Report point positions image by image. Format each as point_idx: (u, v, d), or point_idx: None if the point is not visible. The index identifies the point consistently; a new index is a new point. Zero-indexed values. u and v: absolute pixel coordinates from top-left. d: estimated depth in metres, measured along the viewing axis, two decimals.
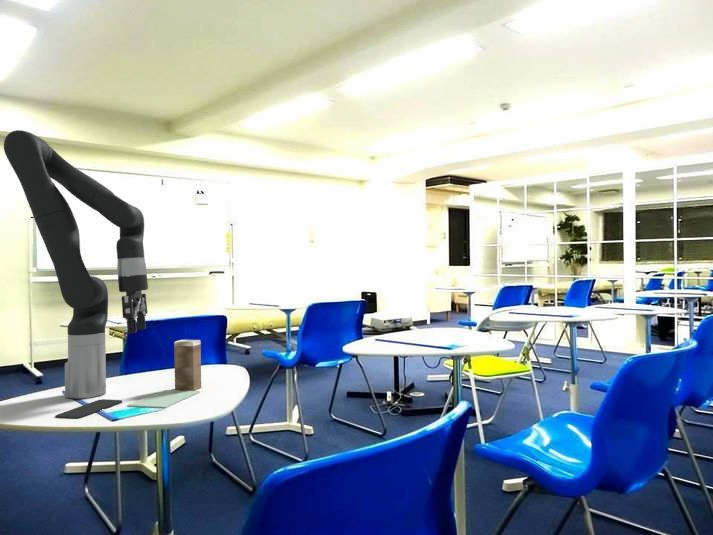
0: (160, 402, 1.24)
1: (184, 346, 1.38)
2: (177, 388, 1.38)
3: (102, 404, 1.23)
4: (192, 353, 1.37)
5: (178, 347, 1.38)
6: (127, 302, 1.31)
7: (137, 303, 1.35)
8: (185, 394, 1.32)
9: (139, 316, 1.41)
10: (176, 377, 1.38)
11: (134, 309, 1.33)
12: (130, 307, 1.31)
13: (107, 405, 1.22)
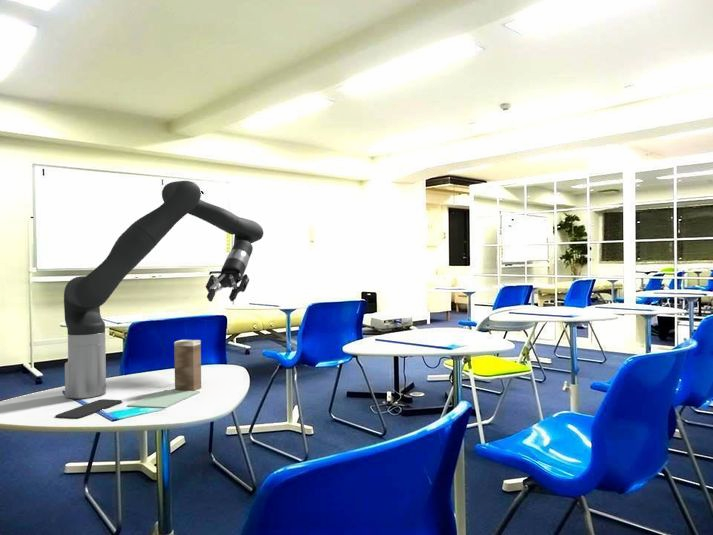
0: (160, 402, 1.24)
1: (184, 346, 1.38)
2: (177, 388, 1.38)
3: (102, 404, 1.23)
4: (192, 353, 1.37)
5: (178, 347, 1.38)
6: (246, 281, 1.64)
7: None
8: (185, 394, 1.32)
9: (213, 290, 1.62)
10: (176, 377, 1.38)
11: (237, 287, 1.63)
12: (246, 285, 1.63)
13: (107, 405, 1.22)
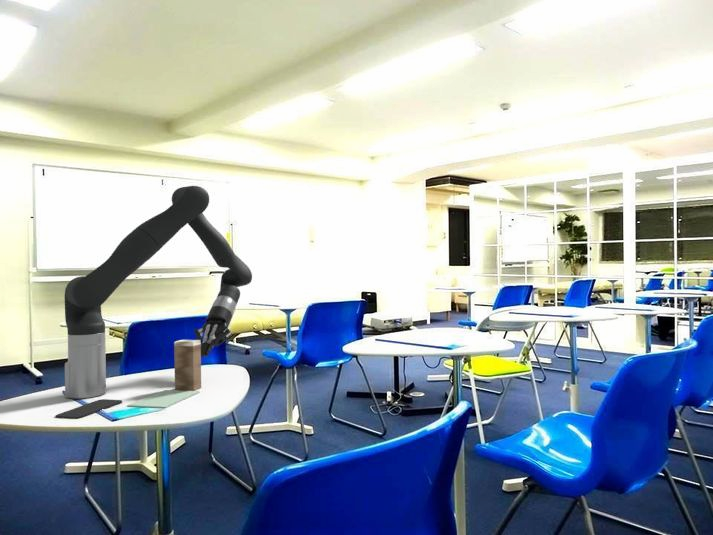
0: (160, 402, 1.24)
1: (184, 346, 1.38)
2: (177, 388, 1.38)
3: (102, 404, 1.23)
4: (192, 353, 1.37)
5: (178, 347, 1.38)
6: (226, 336, 1.53)
7: None
8: (185, 394, 1.32)
9: None
10: (176, 377, 1.38)
11: None
12: (223, 341, 1.52)
13: (107, 405, 1.22)
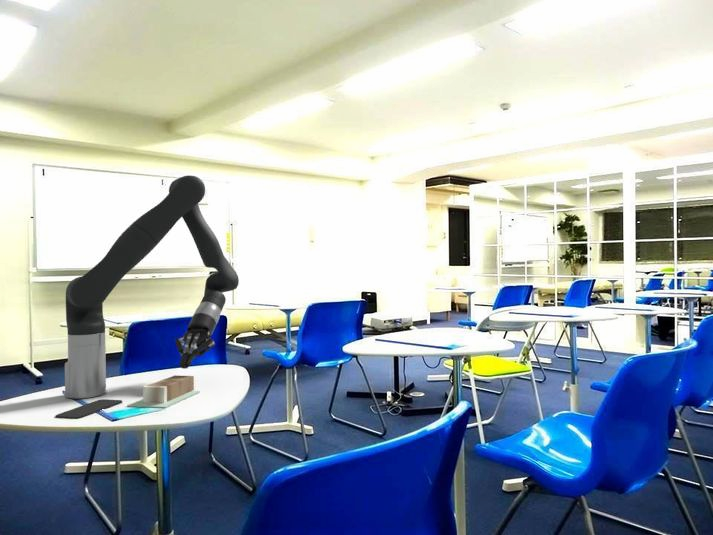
0: None
1: None
2: None
3: (102, 404, 1.23)
4: None
5: None
6: (209, 346, 1.42)
7: None
8: (185, 394, 1.32)
9: None
10: None
11: None
12: (206, 351, 1.42)
13: (107, 405, 1.22)
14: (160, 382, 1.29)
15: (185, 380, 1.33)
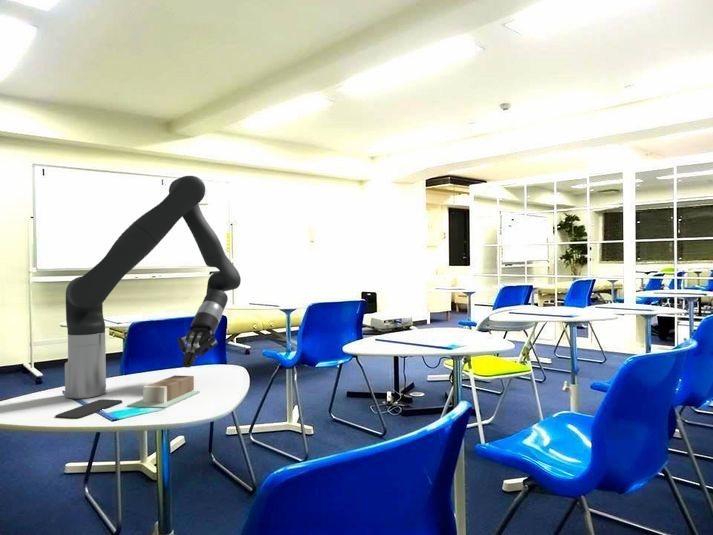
0: None
1: None
2: None
3: (102, 404, 1.23)
4: None
5: None
6: (211, 345, 1.43)
7: None
8: (185, 394, 1.32)
9: None
10: None
11: None
12: (208, 349, 1.43)
13: (107, 405, 1.22)
14: (160, 382, 1.29)
15: (185, 380, 1.33)
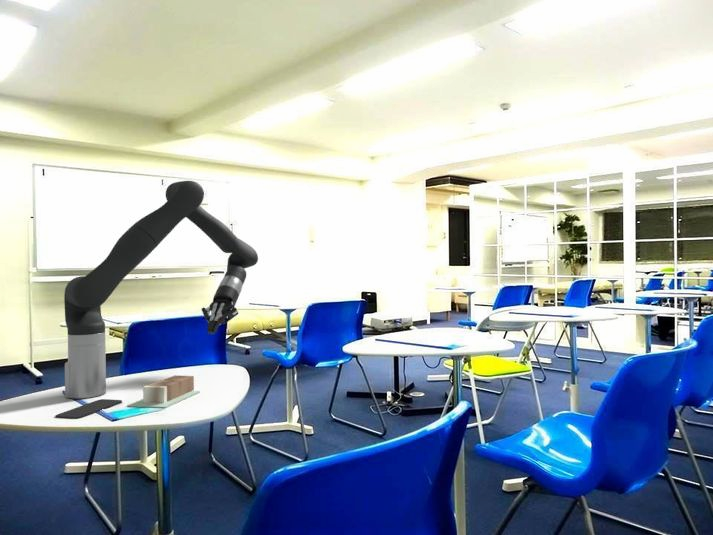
0: None
1: None
2: None
3: (102, 404, 1.23)
4: None
5: None
6: (233, 314, 1.56)
7: None
8: (185, 394, 1.32)
9: None
10: None
11: None
12: (230, 318, 1.56)
13: (107, 405, 1.22)
14: (160, 382, 1.29)
15: (185, 380, 1.33)
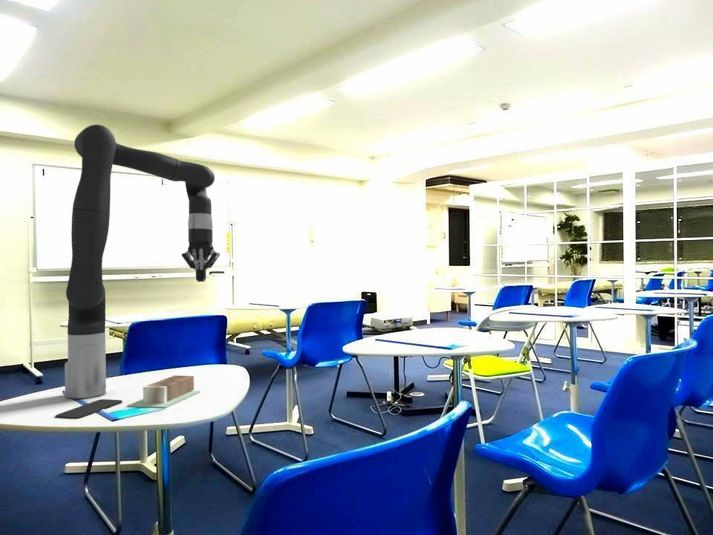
0: None
1: None
2: None
3: (102, 404, 1.23)
4: None
5: None
6: (215, 258, 1.56)
7: None
8: (185, 394, 1.32)
9: None
10: None
11: (206, 262, 1.58)
12: (214, 262, 1.57)
13: (107, 405, 1.22)
14: (160, 382, 1.29)
15: (185, 380, 1.33)
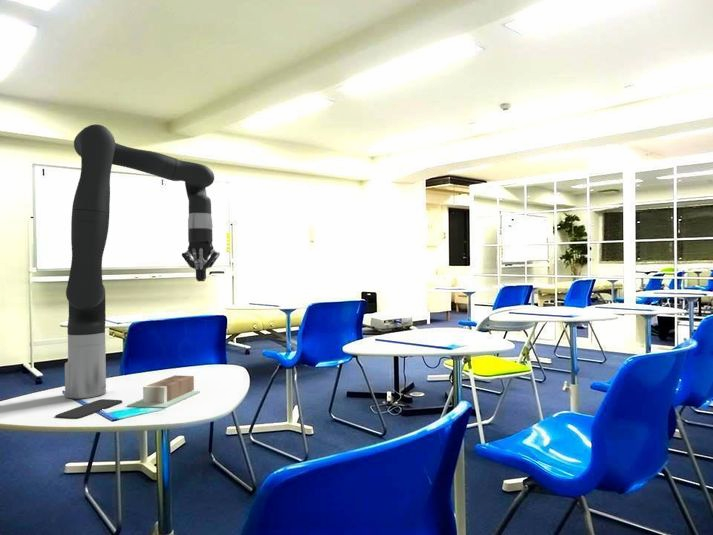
0: None
1: None
2: None
3: (102, 404, 1.23)
4: None
5: None
6: (215, 257, 1.56)
7: None
8: (185, 394, 1.32)
9: (200, 269, 1.57)
10: None
11: (206, 261, 1.58)
12: (214, 261, 1.57)
13: (107, 405, 1.22)
14: (160, 382, 1.29)
15: (185, 380, 1.33)
